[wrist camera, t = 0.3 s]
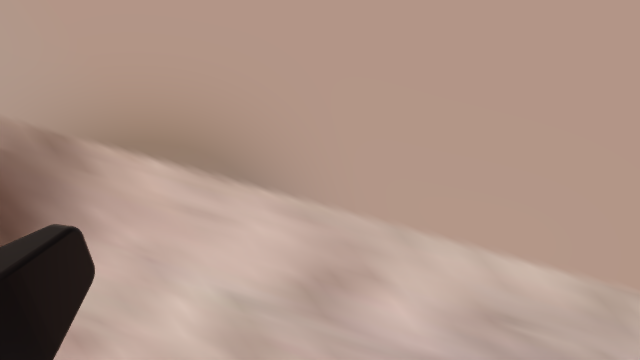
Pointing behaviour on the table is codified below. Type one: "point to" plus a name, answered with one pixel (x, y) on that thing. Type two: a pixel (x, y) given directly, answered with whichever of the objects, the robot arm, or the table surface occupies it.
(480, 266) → the table surface
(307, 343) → the table surface
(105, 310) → the table surface
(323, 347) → the table surface
